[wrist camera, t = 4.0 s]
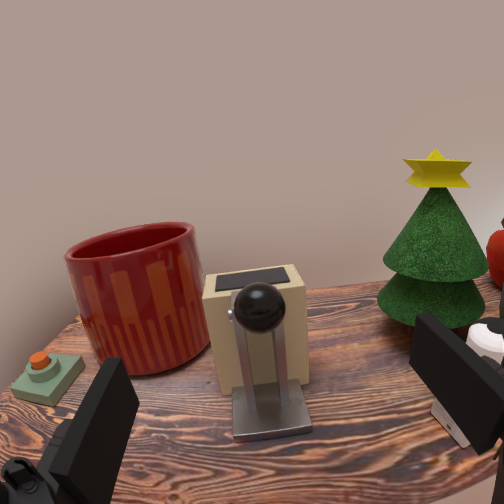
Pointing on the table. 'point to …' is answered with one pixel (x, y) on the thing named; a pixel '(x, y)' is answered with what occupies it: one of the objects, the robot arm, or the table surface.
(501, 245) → the apple
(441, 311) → the decorative tree
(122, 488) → the table surface
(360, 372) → the table surface
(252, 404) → the metal lever stand
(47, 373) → the control block
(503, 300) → the sculpture
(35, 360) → the button
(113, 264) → the planter
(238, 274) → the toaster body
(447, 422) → the container
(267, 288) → the toaster lever
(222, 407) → the table surface
